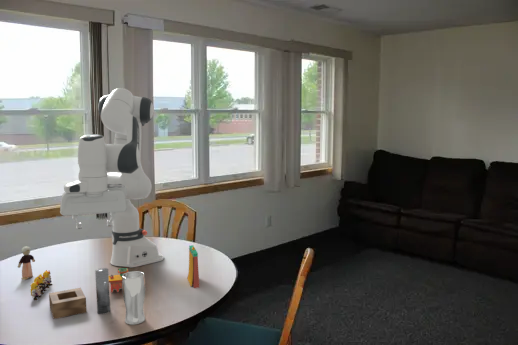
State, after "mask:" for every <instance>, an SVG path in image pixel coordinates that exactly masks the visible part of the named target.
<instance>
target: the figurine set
mask: <svg viewBox="0 0 518 345" xmlns="http://www.w3.org/2000/svg"><path fill="white" fill-rule="evenodd" d="M50 286H53V284H52V278H51V271H50V270H48V269H46V270H45V271H43V272H42V273H40V274H38V276H37V277H34V279H33V282H31V283H30V296H31V297H32V298H33V301H36V302H37V301H39V299H38V298H41V297H42V295H44V293H45V292H46V291H48V289H49V288H50Z"/></svg>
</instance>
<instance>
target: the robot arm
mask: <svg viewBox="0 0 518 345" xmlns="http://www.w3.org/2000/svg"><path fill="white" fill-rule="evenodd" d="M97 110H98V114H99V116H100V120H101V122H102V124H103V125H104V127H105V128H106V129H108V130H109V131H111V132H113V133H115V134H114V139H113V140H114V142H113V143H106V138H105V136H104V135H102V134H99V133H98V134H97V133H90V134H84V135H82V136H81V137H79V141H78V147H77V148H78V149H77V164H78V167H79V168H78V169H79V171H78V179H77V180H74V181H72V182H68V183H66V184H64V185H63V190H64V192H63V193H62V195H61V198H60V207H59V209H60V210H59V213H60V214H61V215H62V216H63V217H70V216H71V217H72V220H73V221H74V223H75V225H76V226H75V227H76V230H81V229H82V222H79V221H78V220H77V219H78V218H79V216H83V215H85V216H86V215H98V214H99V215H101V214H109V215H110V217H109V219H107V220H106V227H112V230H111V243H112V253H111V258H110V262H109V263H110V264H111V265H112V266H115V267H124V268H137V267H141V266H144V265H150V264H154V263H157V262H162V261H163V260H164V254H162V253H161V252H160V251H159V250H158V249H159V248H158V247H157V244H156V243H155V242H153V241H152V240H151V239H149V238H147V237H146V236H147V235H148V231H147V230H145V229H143V228H140V214H139V210H138V208H137V207H135V206H134V204H133V203H132V201H131V200H141V199H142V200H143V199H146V198H148V197H149V196H150V194H151V192H152V187H153V186H152V181H151V179H150V178H149V176H148V175H147V174H146V173H145V171H144V168H143V165H142V160H141V154H142V153H141V151H142V150H141V149H142V133H143V132H142V127H144V126H145V125H146V124H148V123H149V122H150V121H151V120H152V118H153V116H154V114H155V107H154V103H153V101H152V100H151V98H148V97H146V96H142V97H141V96H136V95H134V94H133V93H132V91H130V90H129V89H127V88H125V87H118V88H115V89H113V90H112V91H111V92H110V94H105V95H103V96H102V97H100V98H99V101H98V104H97Z"/></svg>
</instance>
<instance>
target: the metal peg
mask: <svg viewBox="0 0 518 345" xmlns="http://www.w3.org/2000/svg"><path fill="white" fill-rule="evenodd" d="M94 272H95V290H96V312H97V314H101V315H103V314H105V315H106V314H107V313H110V312H111V299H110V283H109V276H110V275H109V274H110V273H109V268H107V267H101V268H97V269H95V271H94Z"/></svg>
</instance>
